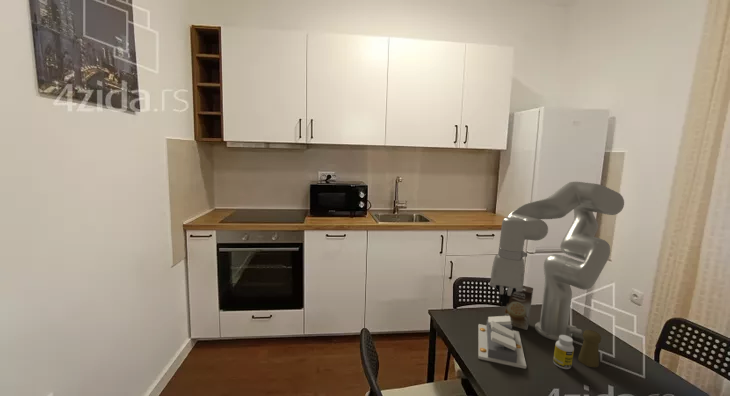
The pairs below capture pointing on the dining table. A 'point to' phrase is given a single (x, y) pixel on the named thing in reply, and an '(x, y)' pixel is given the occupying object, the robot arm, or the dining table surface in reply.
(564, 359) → the supplement bottle
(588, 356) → the cork
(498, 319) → the rocker back
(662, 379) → the dining table surface
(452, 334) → the dining table surface
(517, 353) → the switch unit
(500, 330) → the rocker middle
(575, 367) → the dining table surface
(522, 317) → the coffee box
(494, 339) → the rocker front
